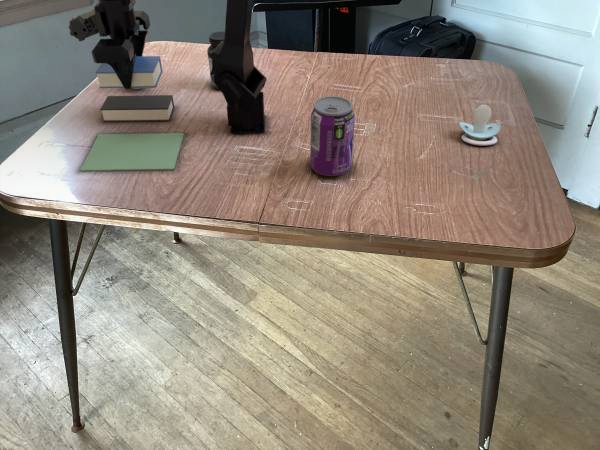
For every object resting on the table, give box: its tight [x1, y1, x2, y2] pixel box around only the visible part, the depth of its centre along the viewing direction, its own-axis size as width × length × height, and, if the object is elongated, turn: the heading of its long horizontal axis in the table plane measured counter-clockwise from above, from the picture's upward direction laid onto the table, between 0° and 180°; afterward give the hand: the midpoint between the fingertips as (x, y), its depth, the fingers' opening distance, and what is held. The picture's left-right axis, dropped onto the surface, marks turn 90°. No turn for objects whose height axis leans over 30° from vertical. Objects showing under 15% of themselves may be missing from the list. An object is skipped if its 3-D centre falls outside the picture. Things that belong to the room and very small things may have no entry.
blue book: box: [95, 55, 164, 89], centre depth 103 cm, size 10×7×3 cm, turn 91°
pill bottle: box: [206, 30, 225, 91], centre depth 115 cm, size 6×6×11 cm
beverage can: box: [309, 95, 356, 177], centre depth 90 cm, size 7×7×12 cm
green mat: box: [80, 132, 185, 172], centre depth 98 cm, size 16×12×1 cm
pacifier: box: [459, 104, 501, 146], centre depth 99 cm, size 7×6×6 cm
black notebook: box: [99, 94, 175, 123], centre depth 108 cm, size 13×6×3 cm, turn 91°
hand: (132, 80), depth 104 cm, fingers closed on blue book, 7 cm apart
